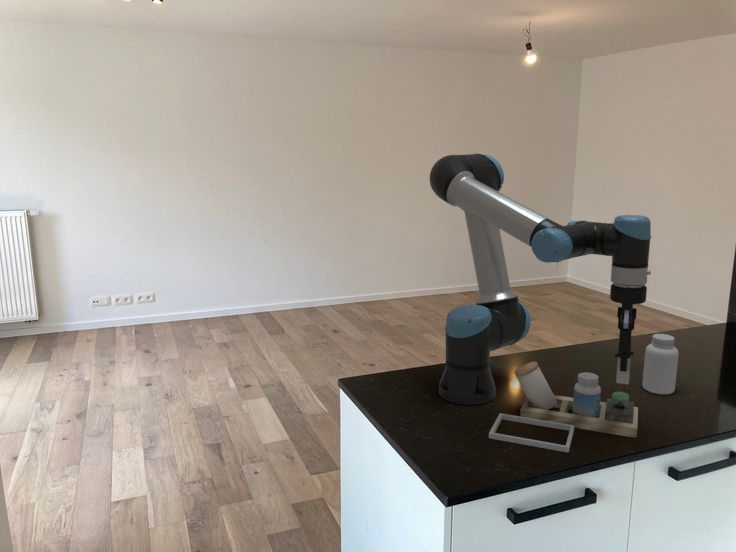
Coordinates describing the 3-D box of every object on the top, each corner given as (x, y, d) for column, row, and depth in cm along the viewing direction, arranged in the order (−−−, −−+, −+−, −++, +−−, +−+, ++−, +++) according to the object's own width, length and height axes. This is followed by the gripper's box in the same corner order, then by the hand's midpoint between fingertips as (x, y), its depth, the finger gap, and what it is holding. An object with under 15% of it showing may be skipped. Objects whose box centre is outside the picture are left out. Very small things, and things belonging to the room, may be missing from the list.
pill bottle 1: (601, 426, 140) (604, 381, 137) (574, 424, 141) (577, 379, 139) (596, 414, 146) (599, 371, 143) (570, 413, 147) (573, 370, 144)
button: (611, 407, 139) (612, 396, 138) (612, 401, 142) (612, 390, 141) (627, 410, 137) (628, 398, 137) (628, 404, 141) (629, 393, 140)
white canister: (533, 415, 146) (512, 375, 146) (535, 406, 152) (515, 368, 152) (556, 406, 144) (535, 366, 144) (558, 397, 149) (537, 359, 149)
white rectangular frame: (488, 438, 135) (488, 433, 135) (499, 417, 145) (499, 413, 145) (568, 452, 128) (568, 447, 128) (574, 430, 138) (574, 425, 138)
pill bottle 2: (677, 396, 155) (682, 342, 152) (643, 393, 158) (648, 339, 155) (672, 385, 162) (677, 333, 159) (640, 382, 165) (644, 330, 162)
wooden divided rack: (520, 418, 144) (520, 401, 143) (528, 399, 155) (529, 384, 154) (636, 438, 134) (638, 420, 133) (637, 416, 144) (638, 399, 143)
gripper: (647, 291, 126) (639, 395, 131) (647, 279, 138) (640, 375, 143) (609, 289, 129) (603, 390, 134) (612, 277, 141) (606, 371, 146)
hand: (622, 382), depth 138 cm, fingers closed
